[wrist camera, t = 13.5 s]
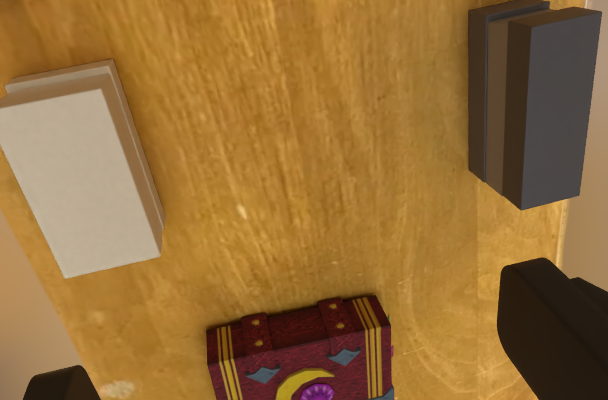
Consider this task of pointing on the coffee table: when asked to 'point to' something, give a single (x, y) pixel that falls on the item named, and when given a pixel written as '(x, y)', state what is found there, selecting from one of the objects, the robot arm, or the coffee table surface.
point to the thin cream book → (79, 177)
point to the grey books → (530, 98)
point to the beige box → (109, 73)
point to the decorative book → (305, 354)
